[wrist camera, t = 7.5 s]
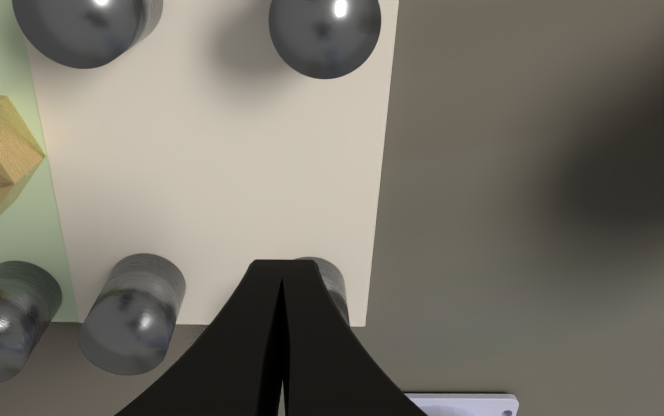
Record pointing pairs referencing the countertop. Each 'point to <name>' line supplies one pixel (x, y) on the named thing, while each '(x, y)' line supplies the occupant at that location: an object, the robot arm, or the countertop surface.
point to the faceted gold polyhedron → (15, 154)
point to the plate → (196, 157)
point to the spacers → (148, 269)
